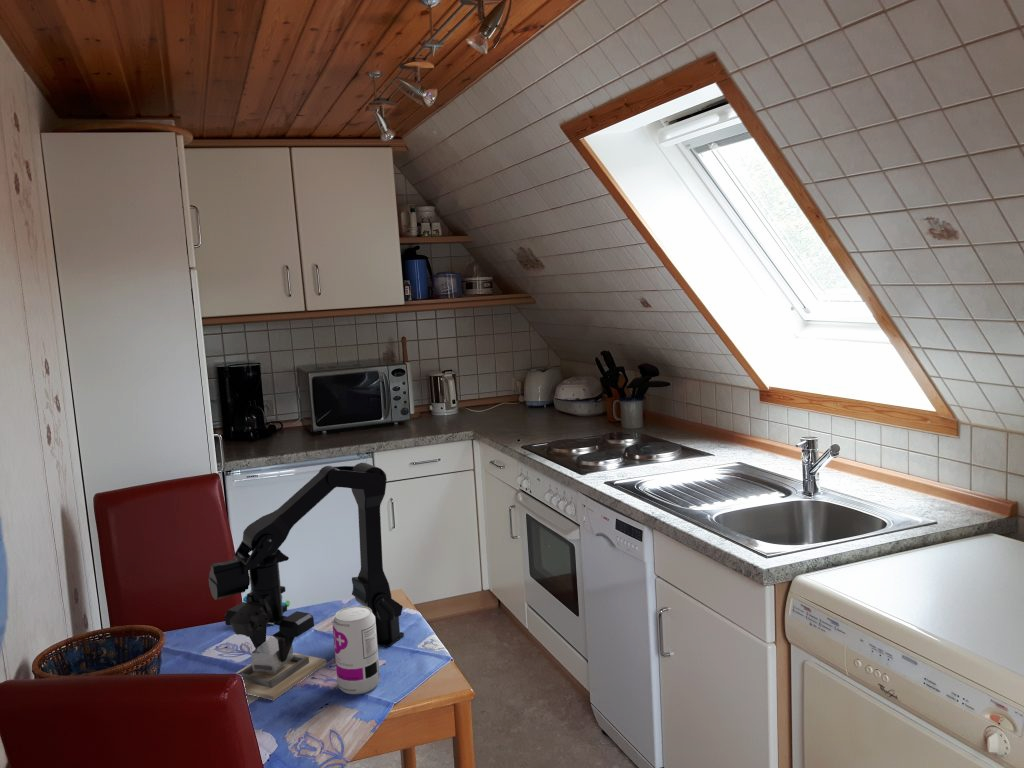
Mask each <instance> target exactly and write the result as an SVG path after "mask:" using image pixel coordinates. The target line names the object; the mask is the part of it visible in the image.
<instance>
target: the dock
mask: <svg viewBox="0 0 1024 768" xmlns="http://www.w3.org/2000/svg"><path fill="white" fill-rule="evenodd" d="M325 664H326V665H327V659H325V658H321V657H316V656H310V655H306V654H301V653H295V652H293V658H292V659H291V660H290V661H289V662H288V663H287V664H286V665H284V666H283V667H282V668H281V669H280V670H279V671H278V672H276V673H275V674H271V673H261V672H253V667H252V662H251V663H249V664H247V665H246V666H245V667H244V668H243V667H242V668H241V669H240V670H238V671H237V672H236V673H238V674H241V675H242V677H243V680H244V683H245V688H246V692H247V695H246V696H249V695H248V693H249V694H252V695H256V696H259V697H263V698H269V699H272V700H274V699H276V698H277V697H279V696H280V695H281V694H283V693H284V692H286V691H287V690H289V689H290V688H292V687H293V686H294V685H295V684H297V683H298V682H300V681H301V680H303V679H304V678H305V677H307V676H308V675H310V674H311V673H312V672H314V671H315V670H317V669H319V668H320V667H322V666H323V667H325V666H326V665H325ZM323 667H322V668H323ZM320 669H321V668H320ZM320 669H319V670H320ZM317 671H318V670H317ZM314 673H315V672H314ZM310 676H311V675H310ZM307 678H308V677H307ZM303 681H304V680H303ZM300 683H301V682H300ZM297 685H298V684H297ZM293 688H294V687H293ZM293 688H292V689H293ZM290 690H291V689H290ZM290 690H289V691H290ZM286 693H287V692H286ZM283 695H284V694H283ZM280 697H281V696H280ZM280 697H279V698H280ZM276 700H277V699H276Z"/></svg>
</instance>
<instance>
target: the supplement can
mask: <svg viewBox="0 0 1024 768" xmlns="http://www.w3.org/2000/svg"><path fill="white" fill-rule="evenodd" d="M332 632H333V633H332V634H333V644H334V645H333V646H334V656H335V658H334V659H335V669H336V670H335V671H336V682H337V687H338V690H340V691H342V692H343V693H346V694H349V695H361V694H366V693H368V692H371V691H373V690H374V689H375V688H377V685H378V684H379V683H380V681H381V678H380V677H381V675H380V661H379V649H378V648H379V647H378V645H377V634H376V620H375V616H374V614H373V613H372V610H371V609H370V608H368V607H365V606H362V605H353V606H348V607H344V608H342V609H339V610H338V611H336V613H335V615H334V618H333V620H332Z"/></svg>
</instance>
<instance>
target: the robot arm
mask: <svg viewBox="0 0 1024 768" xmlns="http://www.w3.org/2000/svg"><path fill="white" fill-rule="evenodd" d="M387 480H388V479H387V474H386V472H385V471H384V470H383V469H382V468H380V467H378V466H375V465H371V464H370V463H367V462H359V463H357V464H355V465H353V466H352V465H339V466H332V465H325V466H323V467H321V469H319V471H318V473H317V474H316V475H314V476H313V477H312V478H311V479H310V480H309V481H308V482H306V483H305V484H304V485H303V486H302V487H301V488H299V490H298V491H296V492H295V493H294V494H293V495H292V496H291V497H289V499H288V500H286V501H285V502H284V503H283V504H281V506H280V507H278V508H277V509H276V510H274V511H273V512H270V513H268V514H265V515H263V516H261V517H259V518H257V519H256V520H255V521H252V523H250V524H249V525H247V527H245V529H244V530H243V533H242V540H241V542H240V543H239V545H238V548H237V549H236V550H235V552H234V554H233V558H234V559H231V560H227V561H222V562H216V563H211V564H210V570H209V573H208V574H209V575H208V576H209V577H208V586H209V591H210V593H211V596H212V598H213V599H214V600H215V601H216V600H220V599H224V598H228V597H230V596H231V597H232V596H235V595H238V594H242V593H245V592H246V591H247V590H248V589H249V586H250V591H251V592H249V593H247V594H246V595H247V597H246V602H244V601H242V602H240V603H239V604H237V605H236V604H235V606H233V607H231V608H229V609H227V611H226V613H225V614H224V622H225V623H224V624H225V625H226V626H231V627H232V629H233V632H234V634H235V635H238V636H239V635H241V636H245V637H247V638H249V640H250V641H251V643H252V645H253V646H254V648H255V649H257V648H258V647H259V646H260V645H262V644H263V643H264V642H265V641H267V627H268V626H267V625H275V626H278V627H279V628H278V629H279V631H277V632H275V633H274V634H273V635H272V638H276V639H277V640H278V646H279V654H280V659H281V662H284V661H285V660H286V659H287V656H288V653H289V651H290V648H291V645H292V646H293V642H294V640H295V638H297V637H299V636H301V635H303V634H304V633H306V632H307V631H309V630H310V629H312V628H314V627H315V621H314V619H315V618H314V615H312V614H311V613H309V612H303V611H295V612H293V613H291V614H290V615H288V616H287V615H284V614H285V612H287V611H288V607H287V606H285V605H282V602H283V595H281V594H283V593H285V592H286V586H284V585H283V586H282V585H281V576H280V568H279V563H282V562H287V561H289V559H290V558H289V556H288V555H286V554H285V553H283V552H282V551H281V550H280V547H281V546H282V545H283V544H284V542H285V541H286V540H287V538H288V536H289V534H290V531H291V530H292V529H293V527H294V526H295V525H296V524H297V523H298V522H299V521H300V520H302V519H303V517H305V516H306V515H307V514H308V513H310V511H312V510H313V509H314V508H315V507H316V506H317V505H318V504H319V503H320V502H321V501H322V500H323V499H324V498H326V497H327V496H328V495H329V494H330V493H331V492H332V491H333V490H334V489H335V488H346V489H351V493H352V495H353V497H354V499H355V502H356V505H357V509H358V510H357V511H358V513H357V514H358V532H359V533H358V535H359V536H358V537H359V551H360V552H359V553H360V554H359V555H360V557H359V558H360V559H359V560H360V570H359V572H358V575H357V576H355V577H354V576H353V577H351V583H352V592H351V595H352V596H353V597H354V598H355V601H356V602H357V603H358V604H360V606H365V607H368V608H370V609H371V610H372V613H373V614H374V616H375V620H376V634H377V646H380V647H386V648H388V647H391V646H392V645H393V644H395V643H396V642H397V641H398V640H401V639H402V637H404V636H405V632H402V631H401V632H400V619H399V618H400V616H401V615H402V612H403V608H404V606H403V605H401V604H400V603H399V602H397V600H395V599H393V598H392V592H391V588H390V583H389V580H388V578H387V577H386V574H385V571H384V567H383V547H382V546H383V545H382V526H381V525H382V523H381V521H382V518H381V505H382V502H383V500H384V499H385V498H384V497H385V496H386V488H387ZM283 613H284V614H283ZM282 615H283V616H282ZM255 649H254V650H255Z"/></svg>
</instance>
